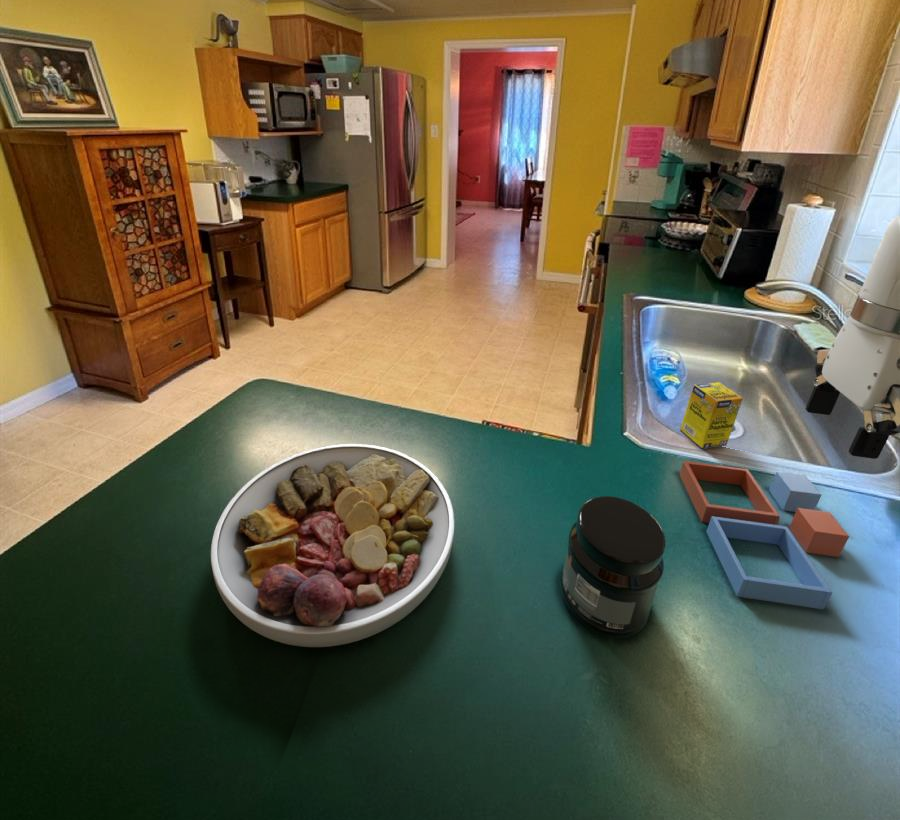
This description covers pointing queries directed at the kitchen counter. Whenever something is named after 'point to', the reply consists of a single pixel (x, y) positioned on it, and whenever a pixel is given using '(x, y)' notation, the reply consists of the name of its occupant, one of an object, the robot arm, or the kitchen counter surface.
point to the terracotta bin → (730, 476)
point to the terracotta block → (818, 532)
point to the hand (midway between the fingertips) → (838, 432)
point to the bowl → (332, 544)
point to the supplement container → (613, 566)
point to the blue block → (794, 491)
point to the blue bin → (763, 589)
